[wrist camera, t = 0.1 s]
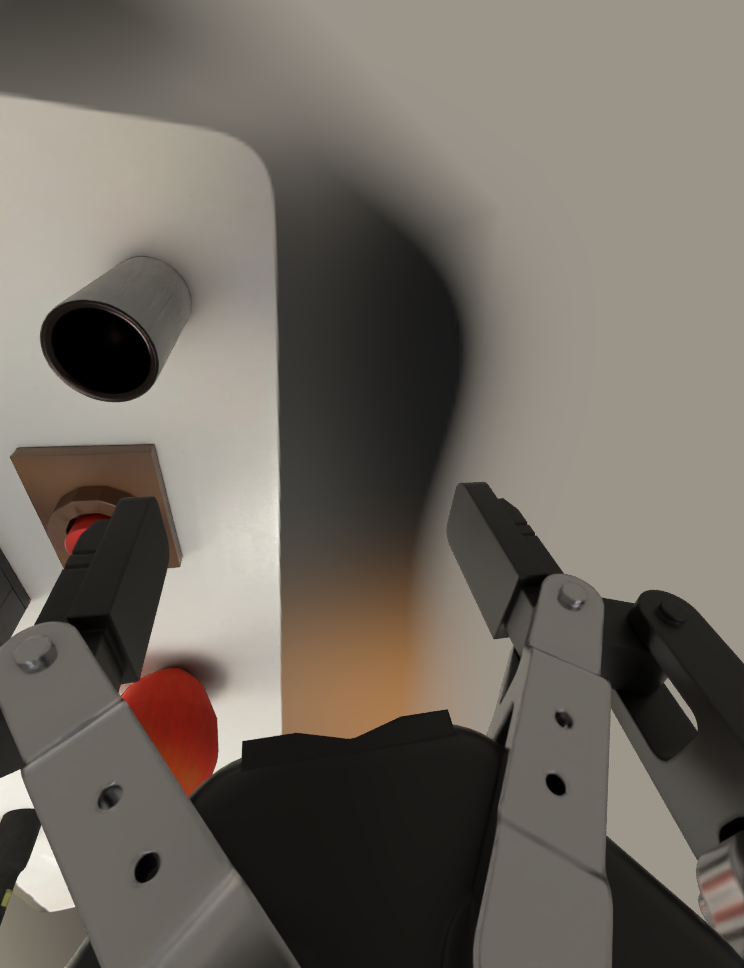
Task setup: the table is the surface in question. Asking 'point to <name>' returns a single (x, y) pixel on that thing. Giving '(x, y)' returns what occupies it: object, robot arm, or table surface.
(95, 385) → the dark grey hollow cylinder
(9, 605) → the open-top black bin
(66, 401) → the table surface
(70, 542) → the button
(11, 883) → the flashlight
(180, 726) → the apple
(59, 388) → the table surface
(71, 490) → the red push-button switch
